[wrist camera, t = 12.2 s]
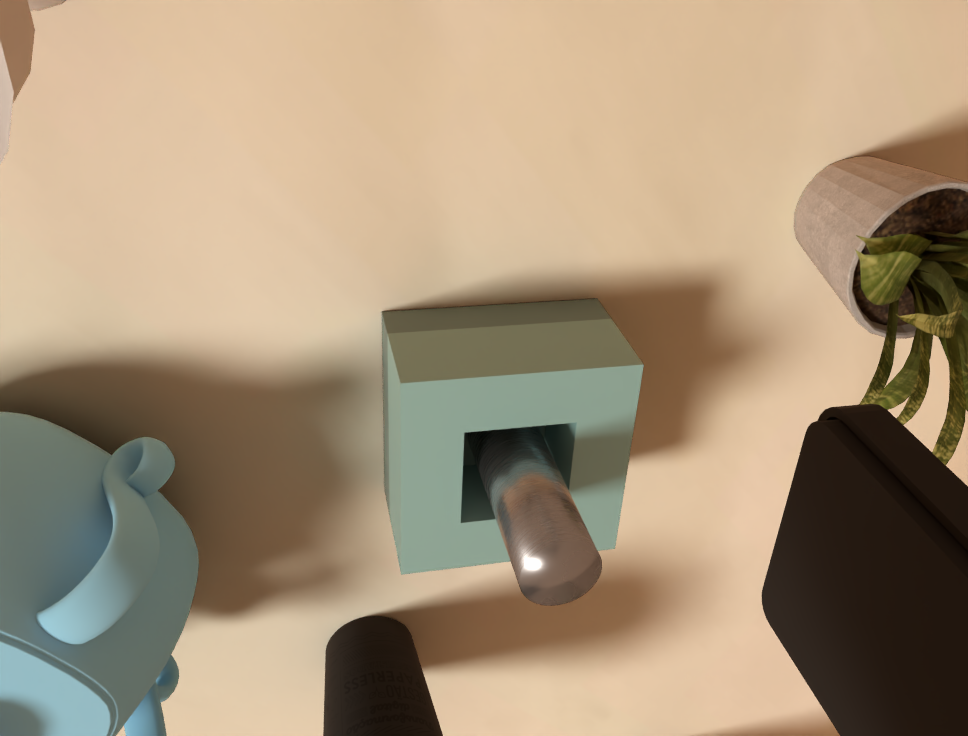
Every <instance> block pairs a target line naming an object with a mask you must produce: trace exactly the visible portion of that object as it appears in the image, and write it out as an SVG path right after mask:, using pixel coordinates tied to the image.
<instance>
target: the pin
mask: <svg viewBox="0 0 968 736" xmlns="http://www.w3.org/2000/svg"><path fill="white" fill-rule="evenodd" d="M465 434H466V437H467V440H468V443H469V446H470V448H471V451H472V454H473V457H474V460H475V462H476V465H477V468H478V471H479V474H480V476H481V479H482V482H483V485H484V488H485V490H486V493H487V496H488V499H489V502H490V504H491V507H492V510H493V513H494V516H495V518H496V521H497V524H498V527H499V530H500V532H501V535H502V538H503V541H504V544H505V547H506V549H507V552H508V555H509V558H510V561H511V563H512V566H513V569H514V572H515V575H516V577H517V580H518V583H519V586H520V589H521V591H522V593H523V594H524V596H525V597H526V598H528V599H529V600H530V601H532V602H534V603H537V604H540V605H548V606H553V605H560V604H565V603H568V602H571V601H573V600H575V599H577V598H579V597H581V596H582V595H584V594H585V593H586V592H588V591H589V590H590V589H591V588H592V587H593V586H594V584H595V583H596V582H597V580H598V578H599V576H600V574H601V570H602V560H601V557H600V555H599V553H598V551H597V549H596V547H595V544H594V542H593V540H592V538H591V536H590V534H589V532H588V530H587V528H586V526H585V524H584V521H583V519H582V517H581V515H580V513H579V511H578V509H577V507H576V505H575V503H574V501H573V498H572V496H571V494H570V492H569V490H568V488H567V486H566V484H565V482H564V480H563V478H562V475H561V473H560V471H559V469H558V467H557V465H556V463H555V461H554V459H553V457H552V454H551V452H550V450H549V448H548V446H547V444H546V442H545V440H544V438H543V436H542V434H541V431H540V429H539V427H538V426H532V427H521V428H510V429H499V430H488V431H476V432H465Z"/></svg>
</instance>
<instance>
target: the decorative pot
mask: <svg viewBox="0 0 968 736" xmlns="http://www.w3.org/2000/svg"><path fill="white" fill-rule="evenodd" d="M174 468H175V459H174V456H173V454H172V452H171V451H170V449H169V448H168V446H167V445H166V444H165V443H164V442H162V441H160V440H157V439H155V438H151V437H141V438H137V439H134V440H131V441H129V442H127V443H125V444H124V445H122V446H121V447H120V448H118V449H117V450H116V451H115V452H114V453H113V454H112V455H111V454H109V453H108V452H106V451H104V450H103V449H101V448H100V447H98V446H96V445H95V444H93V443H91V442H89V441H87V440H86V439H84V438H82V437H80V436H78V435H76V434H75V433H73V432H71V431H69V430H67V429H65V428H63V427H61V426H58V425H56V424H54V423H52V422H49V421H47V420H45V419H41V418H38V417H34V416H31V415H27V414H21V413H12V412H0V736H116V735H117V733H118V732H119V731H120V729H121V728H122V727H123V725H124V728H125V733H126V736H166V729H165V723H164V717H163V712H162V707H161V702H163V701H165V700H166V699H168V698H169V696H170V695H171V694H172V693H173V692H174V690H175V688H176V686H177V684H178V679H179V670H178V666H177V663H176V662H175V660H174V658H173V657H172V655H171V654H172V652H173V650H174V648H175V646H176V643H177V641H178V639H179V637H180V635H181V633H182V631H183V628H184V625H185V623H186V620H187V617H188V614H189V612H190V608H191V604H192V601H193V597H194V593H195V588H196V583H197V578H198V569H199V558H198V549H197V546H196V543H195V540H194V537H193V534H192V531H191V529H190V528H189V526H188V524H187V523H186V521H185V519H184V518H183V516H182V515H181V514H180V513H179V512H178V511H177V510H176V509H175V508H174V507H173V506H172V505H171V504H170V503H169V502H168V500H167V499H166V498H165V497H164V496H163V495H162V494H161V493H160V492H158V491H157V490H159V489H160V488H161V487H162V486H163V485H164V484H165V483H166V482H167V481H168V479H169V478H170V476H171V475H172V473H173V471H174Z"/></svg>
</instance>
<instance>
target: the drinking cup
mask: <svg viewBox="0 0 968 736" xmlns="http://www.w3.org/2000/svg"><path fill="white" fill-rule="evenodd" d="M323 736H443V734H442V731H441V728H440V725H439V722H438V719H437V715H436V712H435V709H434V706H433V703H432V700H431V696H430V693H429V690H428V687H427V684H426V681H425V677H424V674H423V671H422V668H421V665H420V662H419V658H418V655H417V652H416V649H415V646H414V643H413V639H412V636H411V634H410V632H409V630H408V629H407V628H406V627H405V626H404V625H403V624H402V623H400V622H398V621H396V620H394V619H391V618H387V617H365V618H361V619H357V620H355V621H352V622H350V623H348V624H346V625H344V626H343V627H341V628H340V629H339V630H337V631H336V632H335V633H334V634H333V636H332V637H331V639H330V640H329V642H328V644H327V648H326V662H325V698H324V734H323Z"/></svg>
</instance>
